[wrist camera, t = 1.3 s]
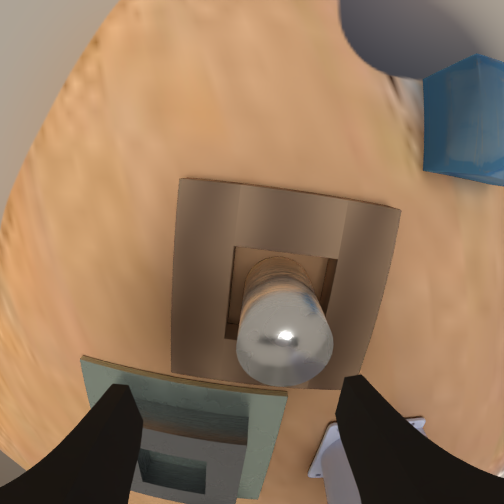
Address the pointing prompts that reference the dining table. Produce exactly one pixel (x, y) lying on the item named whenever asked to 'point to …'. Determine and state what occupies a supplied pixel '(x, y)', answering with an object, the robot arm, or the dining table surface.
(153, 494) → the metal hub block
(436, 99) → the perfume bottle
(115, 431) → the robot arm
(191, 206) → the walnut stand
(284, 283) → the steel peg
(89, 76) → the dining table surface
